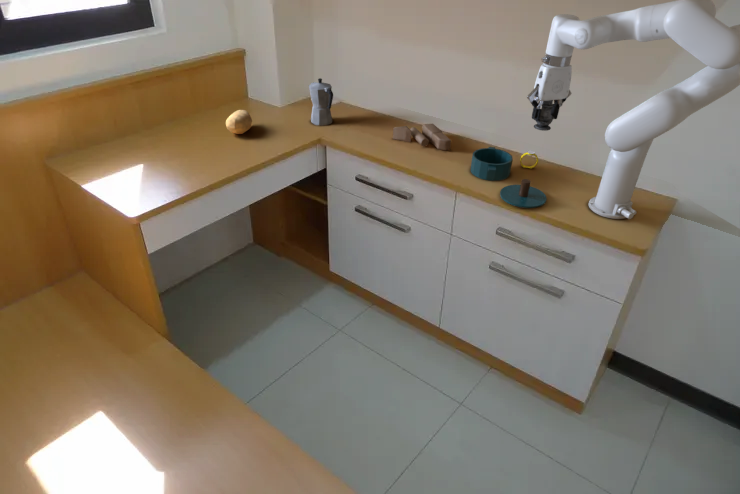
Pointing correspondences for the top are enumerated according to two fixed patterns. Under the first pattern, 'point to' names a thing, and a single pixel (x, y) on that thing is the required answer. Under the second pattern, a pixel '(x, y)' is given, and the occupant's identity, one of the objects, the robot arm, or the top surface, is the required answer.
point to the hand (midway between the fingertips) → (544, 118)
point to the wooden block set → (423, 136)
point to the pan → (491, 164)
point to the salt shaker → (545, 116)
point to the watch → (531, 155)
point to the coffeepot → (321, 103)
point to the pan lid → (523, 195)
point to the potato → (239, 122)
